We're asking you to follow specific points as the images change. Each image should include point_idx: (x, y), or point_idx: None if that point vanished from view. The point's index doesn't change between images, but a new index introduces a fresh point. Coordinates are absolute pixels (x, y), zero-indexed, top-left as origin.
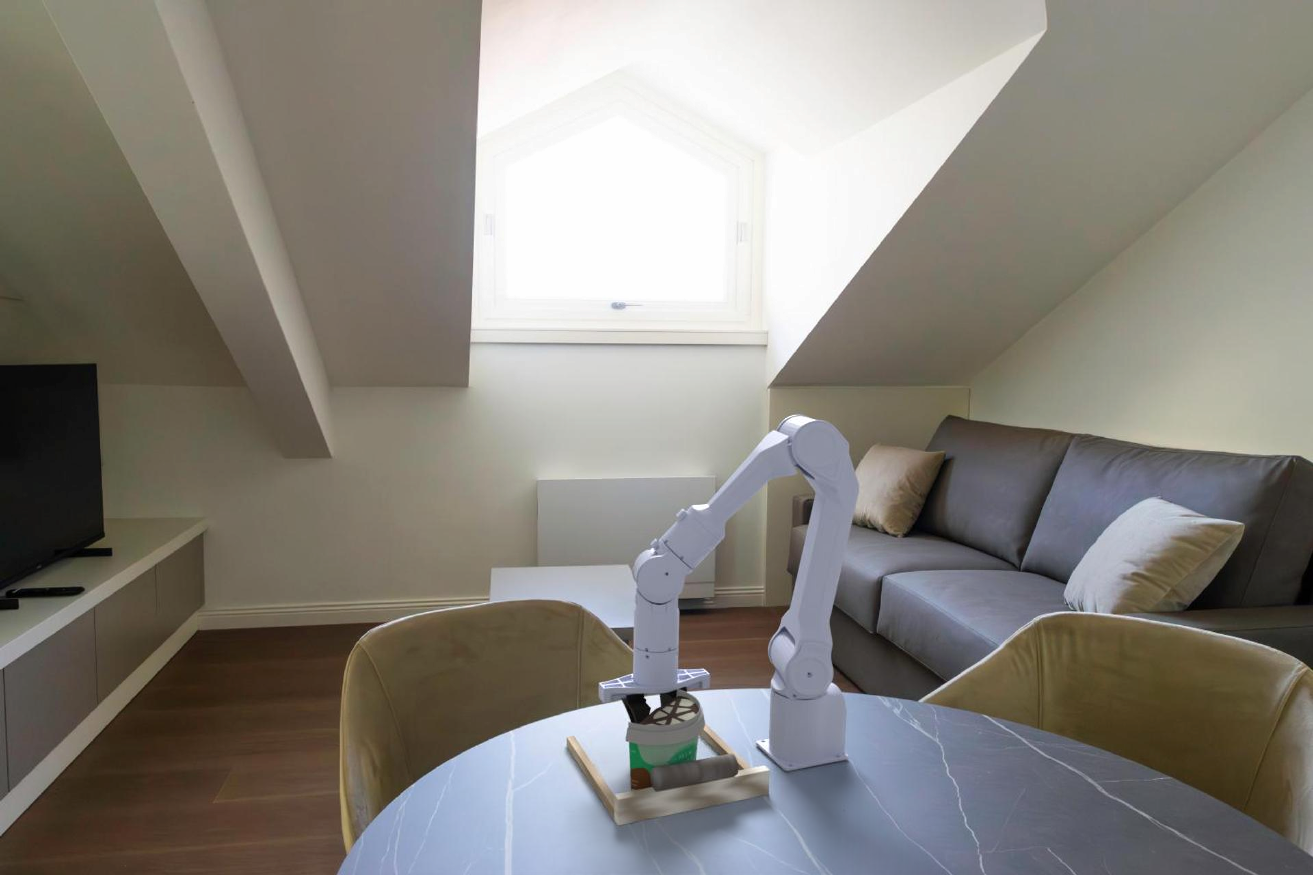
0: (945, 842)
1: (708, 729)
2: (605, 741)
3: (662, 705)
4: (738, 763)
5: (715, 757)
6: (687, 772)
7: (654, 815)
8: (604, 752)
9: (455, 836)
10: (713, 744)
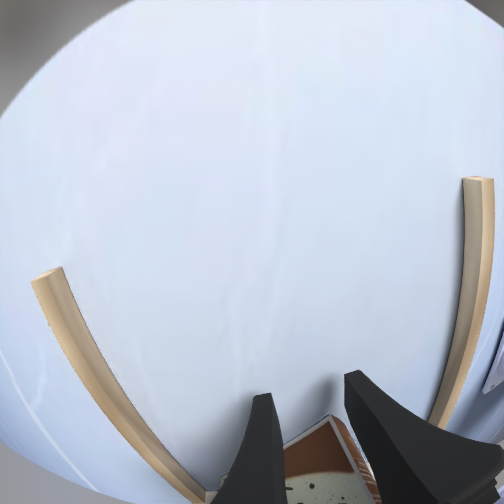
0: None
1: (485, 278)
2: (154, 257)
3: (398, 468)
4: (441, 416)
5: None
6: None
7: None
8: (153, 332)
9: (32, 449)
10: (460, 326)
